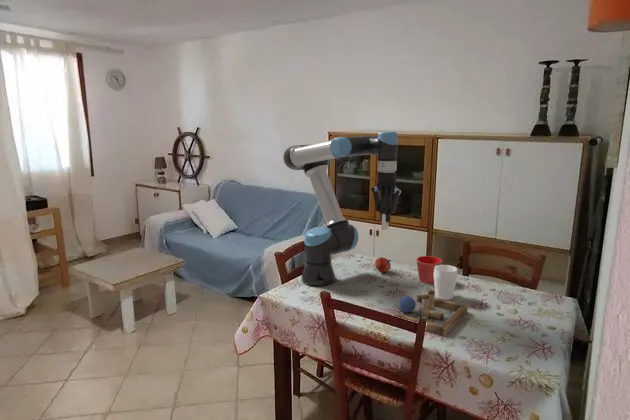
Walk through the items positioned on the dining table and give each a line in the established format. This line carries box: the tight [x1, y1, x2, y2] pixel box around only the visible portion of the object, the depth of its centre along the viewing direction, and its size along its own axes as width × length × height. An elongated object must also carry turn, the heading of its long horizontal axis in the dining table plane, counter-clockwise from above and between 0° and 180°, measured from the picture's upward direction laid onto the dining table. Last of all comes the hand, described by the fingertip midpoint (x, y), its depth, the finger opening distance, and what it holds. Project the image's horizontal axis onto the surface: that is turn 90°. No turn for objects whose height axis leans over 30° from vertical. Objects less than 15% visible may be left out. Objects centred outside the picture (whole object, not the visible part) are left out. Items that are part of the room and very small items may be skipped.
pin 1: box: [421, 293, 429, 320], centre depth 149 cm, size 2×2×9 cm
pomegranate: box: [374, 256, 392, 274], centre depth 196 cm, size 7×7×10 cm
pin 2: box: [427, 289, 436, 311], centre depth 153 cm, size 2×2×9 cm
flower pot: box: [416, 255, 443, 284], centre depth 184 cm, size 11×11×10 cm
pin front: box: [418, 306, 445, 321], centre depth 151 cm, size 2×2×9 cm
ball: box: [398, 295, 417, 314], centre depth 155 cm, size 6×6×6 cm
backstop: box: [392, 293, 468, 338], centre depth 151 cm, size 19×22×2 cm
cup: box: [433, 264, 458, 301], centre depth 167 cm, size 9×9×12 cm
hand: (384, 229), depth 169 cm, fingers closed
